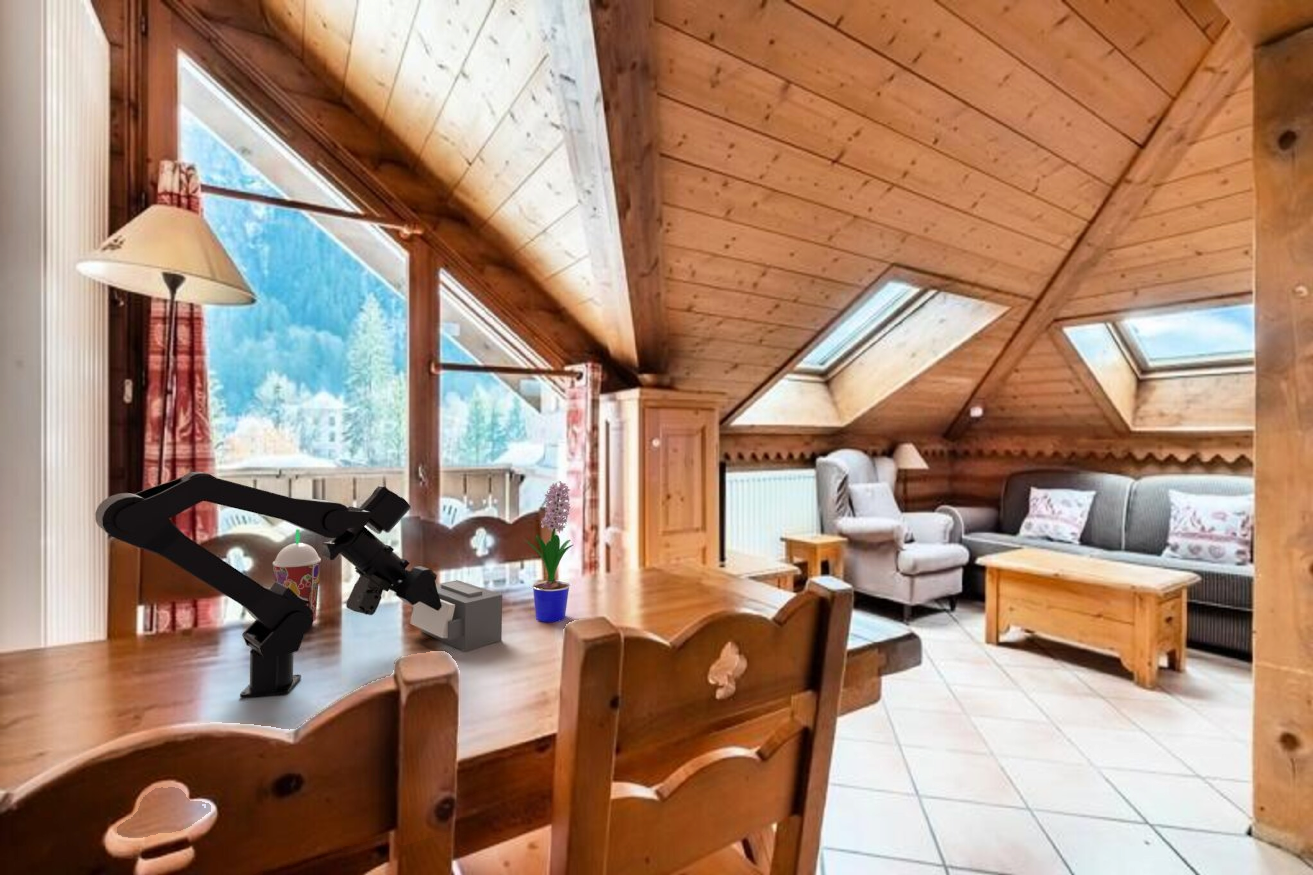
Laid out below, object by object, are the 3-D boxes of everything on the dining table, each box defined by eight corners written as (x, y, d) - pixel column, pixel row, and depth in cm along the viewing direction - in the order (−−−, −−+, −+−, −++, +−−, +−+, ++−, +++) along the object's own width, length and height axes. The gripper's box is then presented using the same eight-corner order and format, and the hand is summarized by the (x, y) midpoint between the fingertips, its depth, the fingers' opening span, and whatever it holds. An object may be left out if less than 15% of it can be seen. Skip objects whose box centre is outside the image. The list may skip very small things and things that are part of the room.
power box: (452, 655, 108) (453, 602, 108) (409, 634, 119) (409, 586, 119) (501, 640, 116) (502, 591, 116) (456, 622, 127) (457, 577, 127)
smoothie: (328, 622, 125) (330, 527, 125) (301, 636, 117) (302, 533, 117) (291, 620, 126) (292, 525, 126) (261, 633, 118) (263, 532, 117)
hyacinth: (521, 613, 134) (523, 479, 133) (567, 610, 137) (569, 479, 137) (524, 626, 125) (527, 483, 125) (573, 622, 128) (576, 482, 128)
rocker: (441, 638, 109) (448, 604, 110) (408, 623, 117) (415, 592, 118) (448, 638, 110) (455, 604, 111) (415, 623, 118) (422, 592, 119)
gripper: (311, 582, 106) (373, 629, 115) (357, 603, 94) (423, 654, 103) (358, 533, 112) (413, 581, 121) (406, 547, 100) (464, 599, 109)
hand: (427, 603), depth 113 cm, fingers open, 9 cm apart
